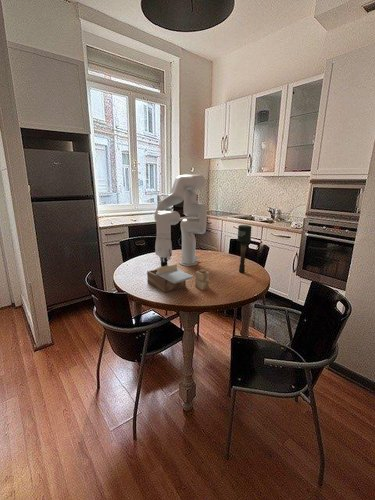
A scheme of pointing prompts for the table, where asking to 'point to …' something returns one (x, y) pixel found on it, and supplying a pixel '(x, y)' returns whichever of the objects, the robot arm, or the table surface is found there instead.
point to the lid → (173, 273)
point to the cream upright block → (202, 279)
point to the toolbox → (162, 282)
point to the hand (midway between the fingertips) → (164, 267)
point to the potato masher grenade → (243, 243)
